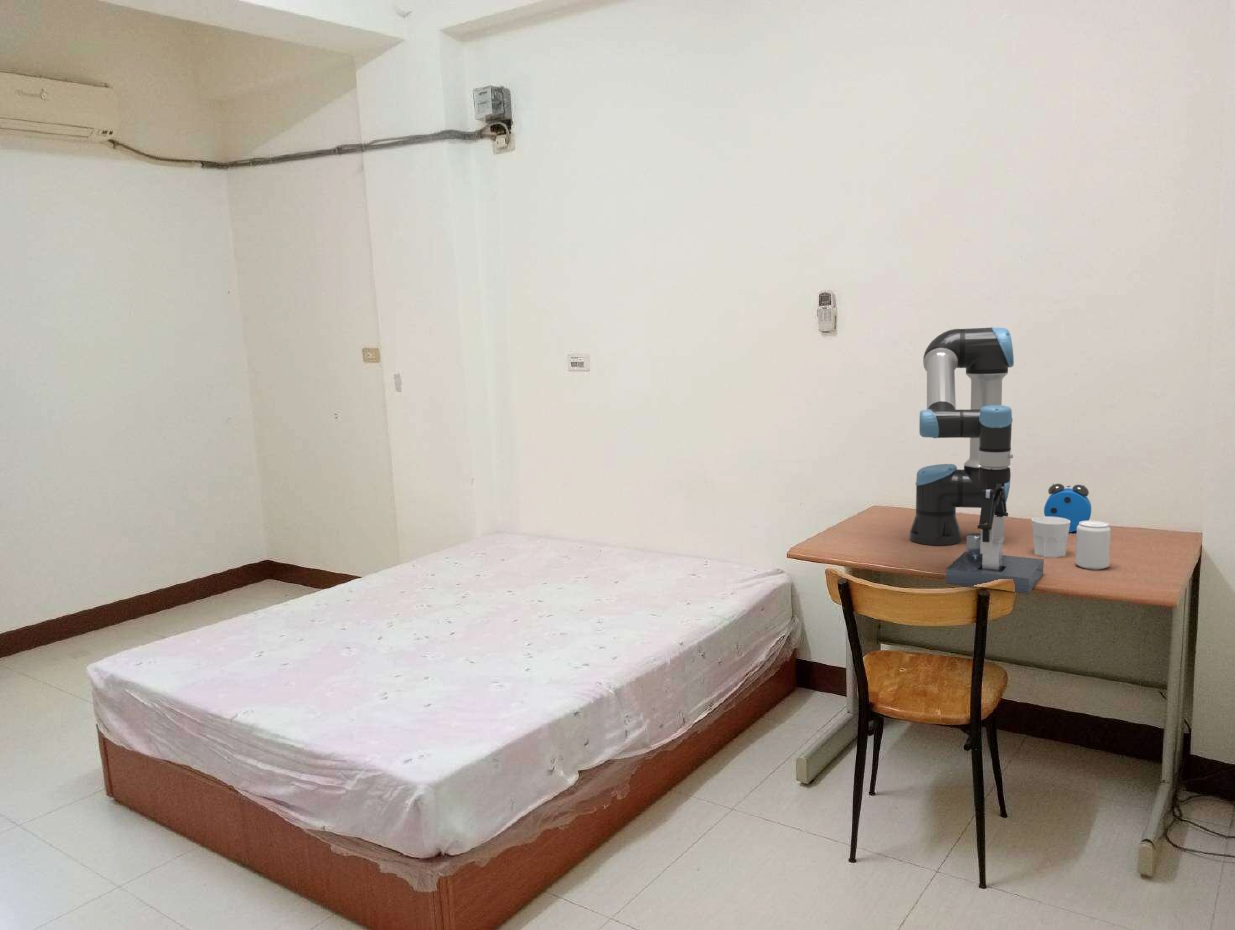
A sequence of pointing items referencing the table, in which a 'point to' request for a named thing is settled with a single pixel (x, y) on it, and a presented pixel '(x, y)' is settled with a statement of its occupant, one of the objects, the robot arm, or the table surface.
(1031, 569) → the slotted metal base
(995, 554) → the grey square peg
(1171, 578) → the table surface
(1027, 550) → the table surface
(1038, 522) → the cup
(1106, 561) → the beverage can
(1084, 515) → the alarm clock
